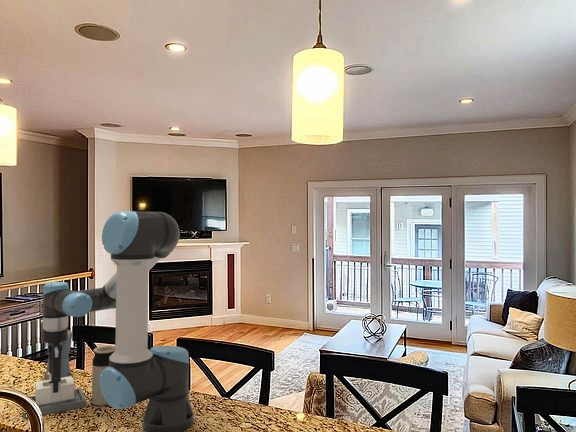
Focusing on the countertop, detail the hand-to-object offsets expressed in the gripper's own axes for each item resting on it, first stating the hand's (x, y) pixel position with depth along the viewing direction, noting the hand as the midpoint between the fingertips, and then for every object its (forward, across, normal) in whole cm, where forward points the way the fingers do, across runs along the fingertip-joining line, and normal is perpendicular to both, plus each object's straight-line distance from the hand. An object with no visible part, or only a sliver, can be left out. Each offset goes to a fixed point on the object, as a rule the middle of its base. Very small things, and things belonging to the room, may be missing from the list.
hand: (54, 397), depth 149 cm
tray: (+3, 0, 0) cm, 3 cm away
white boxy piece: (0, 0, 0) cm, 0 cm away
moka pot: (+3, -30, +3) cm, 30 cm away
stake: (+3, -14, -1) cm, 14 cm away
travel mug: (+3, +5, +15) cm, 16 cm away
